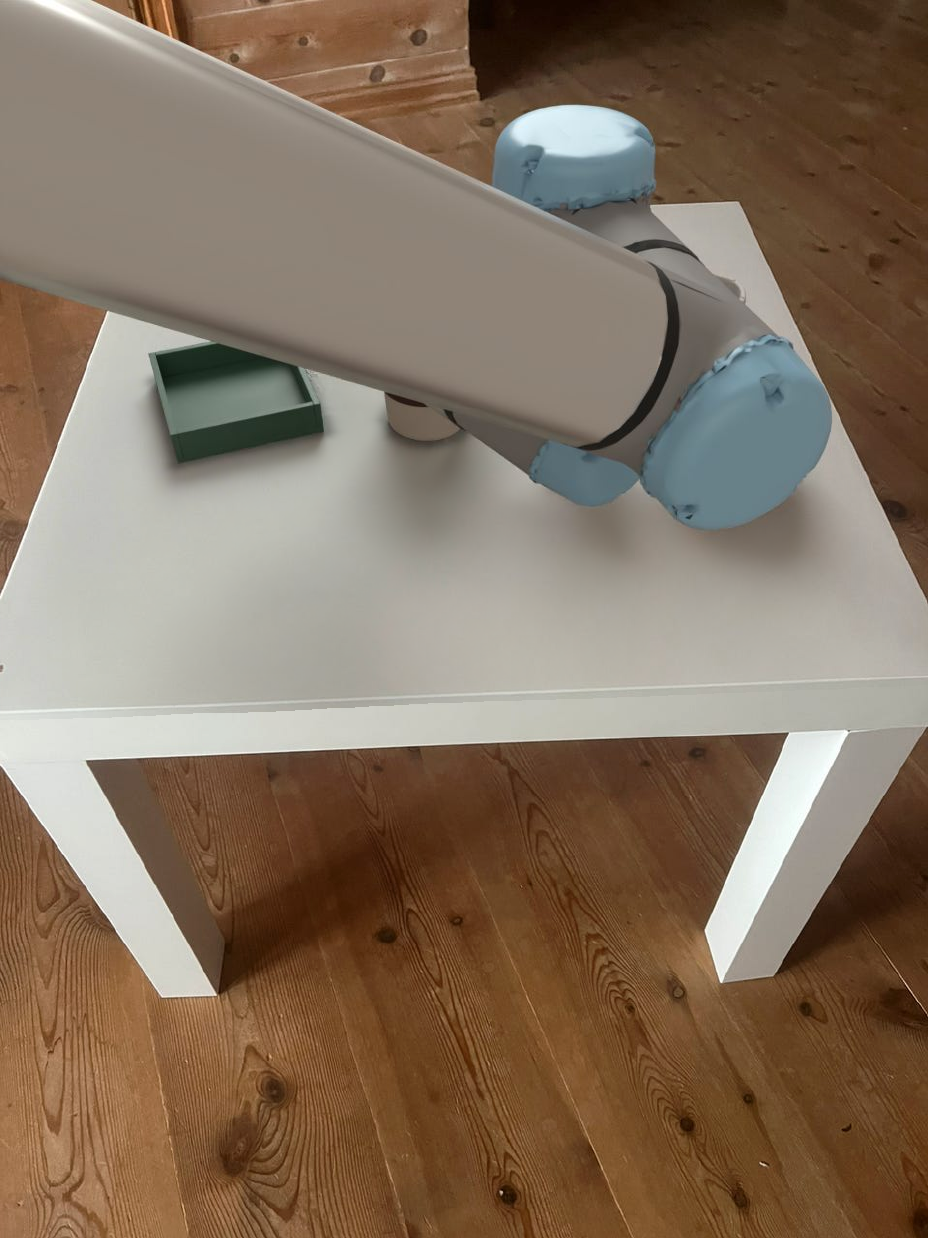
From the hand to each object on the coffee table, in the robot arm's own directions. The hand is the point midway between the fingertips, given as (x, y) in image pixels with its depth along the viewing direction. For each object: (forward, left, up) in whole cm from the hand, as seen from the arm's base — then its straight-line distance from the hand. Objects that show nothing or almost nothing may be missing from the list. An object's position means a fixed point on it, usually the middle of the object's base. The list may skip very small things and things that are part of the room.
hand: (230, 210), depth 73 cm
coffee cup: (+14, 0, -22) cm, 26 cm away
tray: (-2, +8, -22) cm, 23 cm away
